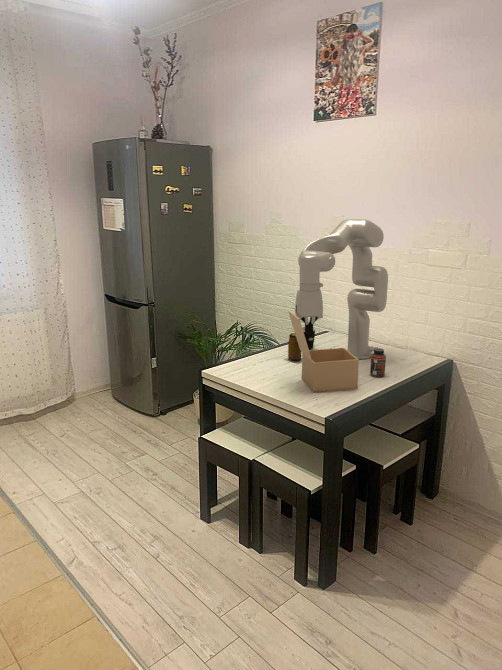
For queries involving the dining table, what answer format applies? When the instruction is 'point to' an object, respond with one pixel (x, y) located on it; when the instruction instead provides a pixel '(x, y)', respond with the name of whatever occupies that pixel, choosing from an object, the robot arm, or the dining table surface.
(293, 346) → the condiment
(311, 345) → the mug
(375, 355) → the supplement bottle
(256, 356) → the dining table surface
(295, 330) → the lid flap
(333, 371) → the carton
